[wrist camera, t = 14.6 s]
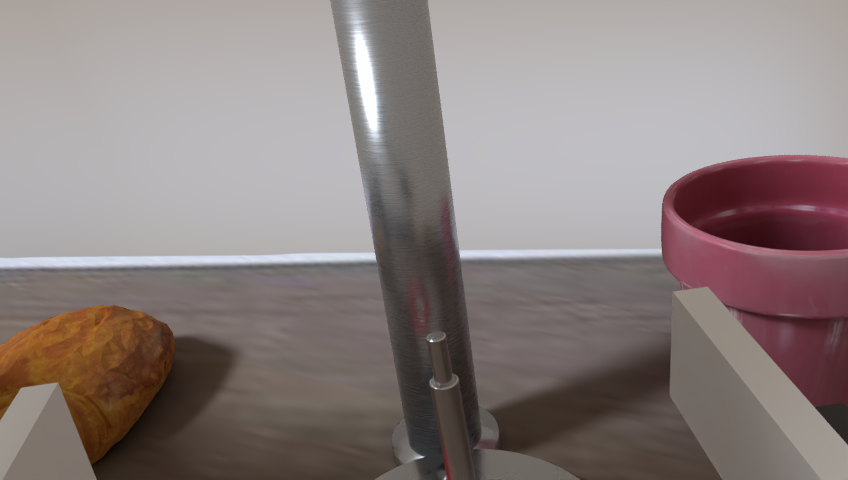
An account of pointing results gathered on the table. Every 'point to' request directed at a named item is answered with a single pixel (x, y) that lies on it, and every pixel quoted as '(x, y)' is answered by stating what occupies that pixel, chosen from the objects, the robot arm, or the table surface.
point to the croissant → (92, 368)
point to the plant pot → (771, 258)
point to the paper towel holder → (416, 231)
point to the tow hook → (449, 411)
